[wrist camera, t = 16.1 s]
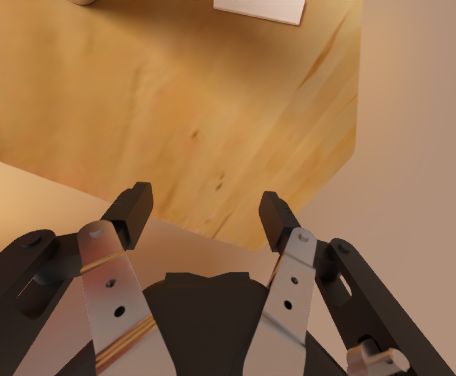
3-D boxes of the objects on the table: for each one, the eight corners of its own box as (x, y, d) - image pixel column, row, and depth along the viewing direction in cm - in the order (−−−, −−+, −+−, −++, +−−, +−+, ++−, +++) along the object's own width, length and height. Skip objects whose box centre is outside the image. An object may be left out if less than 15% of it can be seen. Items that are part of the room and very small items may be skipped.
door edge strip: (213, 8, 27) (213, 6, 26) (215, -19, 25) (214, -22, 25) (297, 25, 29) (299, 24, 28) (303, 1, 27) (305, -2, 27)
